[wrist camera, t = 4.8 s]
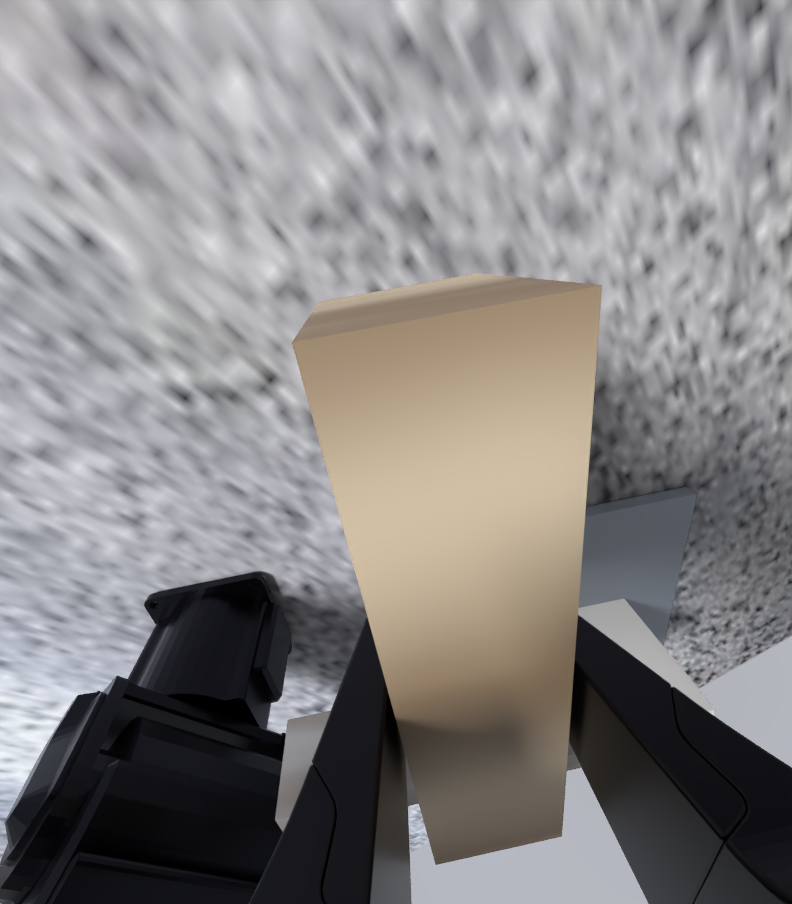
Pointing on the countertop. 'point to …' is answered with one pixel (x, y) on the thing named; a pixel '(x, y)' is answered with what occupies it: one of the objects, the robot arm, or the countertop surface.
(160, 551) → the countertop surface
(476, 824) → the block
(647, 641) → the tile
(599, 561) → the slate board
